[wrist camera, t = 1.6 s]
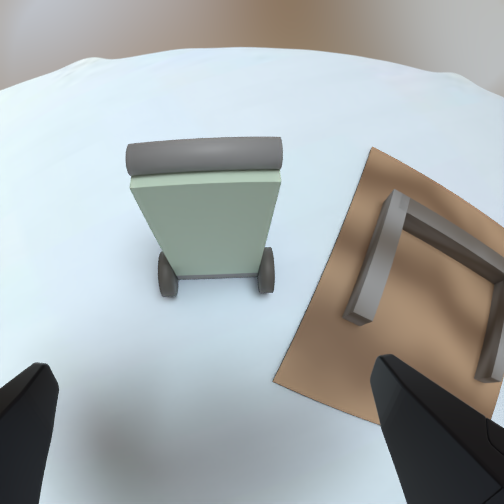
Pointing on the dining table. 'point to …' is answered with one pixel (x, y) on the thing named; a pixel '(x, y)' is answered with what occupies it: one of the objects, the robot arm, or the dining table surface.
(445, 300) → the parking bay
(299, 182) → the dining table surface
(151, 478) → the dining table surface
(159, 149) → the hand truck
